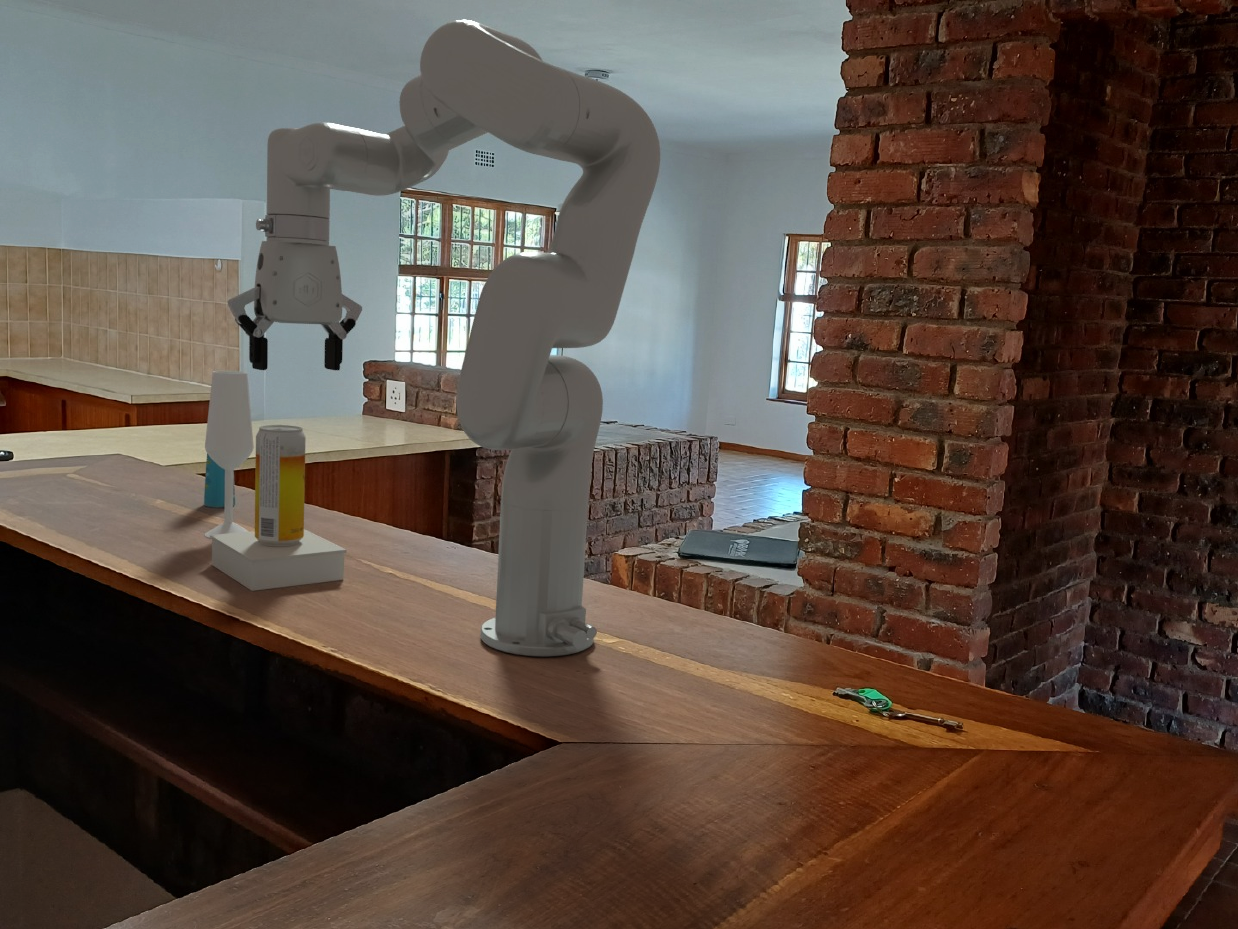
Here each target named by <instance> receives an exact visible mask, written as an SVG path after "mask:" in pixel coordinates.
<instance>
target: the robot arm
mask: <svg viewBox="0 0 1238 929" xmlns="http://www.w3.org/2000/svg"><path fill="white" fill-rule="evenodd" d="M419 70H420V75H418V76H416V77H414V78H412V79H410V80H409V81H408V82H407V83H405V85H404V86H403V88H402V89H401V92H400V94H399V101H398V102H399V112H400V113H399V114H400V117H401V120H402V123H403V126H400V127H398V128H396V129H395V130H392V131H389V132H387V133H378V132H373V131H371V130H370V131H369V130H365V129H361V128H358V127H357V128H356V127H352V126H346V125H341V124H337V123H332V122H325V121H324V122H314V123H311V124H307V125H305V126H302V127H300V128H295V127H281V128H276V129H274V130H272V131H271V132H270V133H269V135H268V138H267V145H266V147H267V149H266V150H267V152H266V155H267V156H266V159H267V160H266V161H267V162H266V173H267V174H266V177H267V178H266V180H267V181H266V215H265V216H264V217H265V218H262V219H260V218H259V219H256V221H255V228H256V231H262V232H264V237H265V238H266V240H262V241H261V245H260V248H259V253H258V258H257V261H256V262H257V264H256V270H255V277H254V278H255V279H254V287H253V288H250V289H249V290H246V291H244V292H242V293H240V294H238V295H235V296H234V297H232V298H230V299H228V301H227V306H228V308H229V310H230V311H231V314H232V315H233V317H234V321H235V322H236V324H237V325H238V326H239V327H240V328H241V329H242V330H243V331H244V332H245V335H246V336H248V337H249V338H248V339H249V342H248V343H249V344H248V345H249V347H248V350H249V351H248V352H249V353H248V354H249V356H248V357H249V358H248V359H249V362H250V363H251V364H252V365H251V367H252V369H253V370H258V371H267V369H268V358H269V356H268V354H269V352H268V350H269V349H268V347H269V346H268V345H269V343H268V342H269V341H268V338H267V337H265V333H266V332H268V330H269V328H270V327H271V326H272V325H273V324H274V323H280V324H297V325H298V324H299V325H300V324H301V325H304V324H305V325H321V327H322V328H323V329H324V331H325V332H326V334H327V335H328V337H326V338H324V363H323V364H324V366H323V367H324V368H325V369H326V370H330V371H340V370H341V364H342V363H343V347H344V346H343V344H344V341H343V340H345V339H346V338H347V336H348V334H349V333H350V332H351V331H352V329H354V328H355V327H356V325H357V321H358V319H359V318H360V316H361V313H362V311H363V306H362V305H361V304H359V303H357V302H356V301H355V300H353V299H351V298H349V297H348V296H346V295H345V294H343V292H342V288H343V287H342V278H341V276H342V275H341V270H340V262H339V256H338V251H337V247H336V246H335V245H330V217H331V214H330V211H331V210H330V208H331V204H330V203H331V190H333V191H342V192H352V193H357V194H364V195H369V196H376V197H379V196H382V197H384V196H389V195H393V194H397V193H400V192H403V191H405V190H408V189H410V188H412V187H414V186H416V185H419V184H420V183H423V182H426V181H428V180H429V179H430V178H432V177H433V176H434V175H436V174H437V172H438V171H440V169H441V168H442V165H443V164H444V163H445V161H446V159H447V158H448V155H449V152H450V151H451V150H453V149H455V148H457V147H460V146H461V145H463V144H466V143H468V142H470V141H472V140H474V139H477V138H479V137H481V136H483V135H486V134H487V133H489V134H490V135H492V136H493V137H496V138H497V139H498V140H500V141H502V142H504V143H506V144H507V145H509V146H512V147H513V148H515V149H518V150H521V151H523V152H525V153H528V154H532V155H536V156H541V157H545V158H550V159H554V160H558V161H563V162H567V163H573V164H575V165H578V166H579V167H580V168H581V169H582V174H581V176H580V177H579V179H578V180H577V182H576V183H575V184H574V185H573V187H572V188H571V189H570V191H569V192H568V194H567V196H565V199H564V201H563V202H562V205H561V208H560V210H559V213H558V216H557V220H556V224H555V229H554V233H553V236H552V239H551V242H550V244H549V247H548V249H547V251H546V252H542V251H541V252H540V251H525V252H524V251H523V252H518V253H516V254H513V255H510V256H509V257H506V258H505V259H504V260H502V261H501V262H499V263H498V264H497V265H496V266H495V268H494V269H493V270H492V272H491V273H490V274H489V276H487V279H486V280H485V282H484V285H483V286H482V290H481V292H480V295H479V298H478V301H477V306H476V308H475V312H474V317H473V321H472V323H471V324H472V325H471V329H470V332H469V337H468V342H467V345H466V348H465V352H464V358H463V362H462V365H461V368H460V369H461V370H460V374H459V376H458V377H459V378H458V383H457V388H456V400H455V401H456V402H455V403H456V405H455V406H456V408H455V409H456V413H457V414H456V415H457V418H458V422H459V424H460V427H461V429H462V431H463V432H464V434H465V435H466V436H467V437H468V439H470V441H471V442H473V443H474V444H475V445H477V446H479V447H481V448H483V449H489V450H493V451H504V450H505V451H507V450H510V452H509V455H508V457H507V460H506V463H505V468H504V472H503V477H502V482H501V484H502V486H501V496H500V497H501V498H500V500H501V501H500V512H499V513H500V514H499V536H498V537H499V538H498V555H497V557H498V558H497V559H498V560H497V576H496V577H497V579H496V580H497V581H496V597H495V598H496V601H495V617H493V618H490V619H488V620H487V621H485V622H484V623H482V625H481V626H480V635H479V637H480V639H481V641H483V643H484V644H486V645H487V646H489V647H490V648H493V649H495V650H498V651H501V652H503V653H509V654H513V655H519V656H524V657H525V656H526V657H559V656H560V657H561V656H568V655H572V654H576V653H577V654H578V653H580V652H582V651H585V650H587V649H588V648H590V647H591V646H592V645H593V644H594V641H595V639H594V638H595V637H596V636H597V633H598V630H597V628H596V627H595V626H593V625H591V624H589V623H586V616H587V613H586V612H587V607H585V606H583V593H584V577H585V564H586V563H585V562H586V561H585V560H586V545H587V529H588V528H587V526H588V515H589V514H588V513H589V512H588V511H589V510H588V509H589V500H590V499H589V498H590V487H591V486H590V484H591V473H592V472H591V471H592V466H593V465H592V463H593V457H594V452H595V451H594V450H595V447H596V443H597V438H598V434H599V432H600V427H601V423H602V422H601V421H602V418H603V417H602V416H603V410H604V409H603V408H604V406H603V404H604V403H603V402H604V398H603V392H602V388H601V385H600V382H599V380H598V378H597V376H596V374H594V372H593V371H592V369H590V367H589V366H587V365H586V364H585V363H583V362H581V361H579V360H578V359H576V358H573V357H569V356H566V355H558V354H557V355H556V354H551V353H552V350H553V349H578V348H579V349H580V348H587V347H592V346H595V345H597V344H599V343H600V342H602V341H603V340H605V338H607V336H608V334H609V333H610V331H611V330H612V328H613V325H614V323H615V320H616V317H617V314H618V311H619V307H620V303H621V301H622V298H623V293H624V289H625V286H626V284H627V279H628V275H629V274H630V273H629V272H630V269H631V266H632V262H633V258H634V255H635V250H636V247H637V243H638V238H639V234H640V231H641V229H642V224H643V223H644V219H645V216H646V213H647V212H648V211H647V210H648V207H649V205H650V202H651V201H652V200H651V199H652V197H653V194H654V191H655V188H656V185H657V181H658V176H659V173H660V167H661V147H660V140H659V135H658V133H657V130H656V126H655V125H654V123H653V121H652V119H651V118H650V116H649V115H648V113H647V112H646V110H644V108H643V107H642V106H641V105H640V104H639V103H638V102H637V101H636V100H634V99H633V98H632V97H631V96H630V95H628V94H627V93H625V92H623V91H621V89H618V88H616V87H614V86H612V85H609V84H608V83H605V82H602V81H599V80H597V79H594V78H590V77H588V76H585V75H583V74H582V75H581V74H579V73H576V72H573V71H570V70H567V69H564V68H562V67H558V66H556V65H553V64H551V63H548V62H546V61H544V60H543V59H542V57H541V56H540V54H539V53H538V52H537V50H536V49H535V48H534V47H532V46H531V45H530V44H529V43H527V42H526V41H524V40H522V39H521V38H519V37H517V36H514V35H511V34H508V33H505V32H504V31H501V30H498V29H495V28H493V27H490V26H487V25H485V24H482V23H480V22H476V21H473V20H469V19H468V20H467V19H461V20H460V19H458V20H453V21H449V22H447V23H445V24H443V25H441V26H440V27H438V28H437V29H436V30H435V31H434V32H432V33H431V35H430V36H429V37H428V39H427V40H426V41H425V43H424V46H423V48H422V52H421V54H420V60H419ZM251 303H253V309H254V310H253V311H254V316H255V318H254V319H251V318H250V316H249V315H248V314H247V312H246V308H245V307H246V306H247V305H248V304H251ZM343 309H345V310H346V314H345V316H344V318H343ZM342 318H343V319H342Z"/></svg>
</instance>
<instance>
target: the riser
mask: <svg viewBox="0 0 1238 929" xmlns="http://www.w3.org/2000/svg"><path fill="white" fill-rule="evenodd" d="M209 539H211V566H213V567H215V568H216V569H218V570H219V571H221V572H222V573H224V574H225V575H227V576H229V577H230V578H231V579H233V580H235V581H236V582H238V584H241V585H242V586H244V587H245V588H247V589H248V590H250V591H252V592H254V591H263V590H271V589H279V588H286V587H287V588H288V587H295V586H302V585H312V584H319V583H320V584H321V583H326V582H328V583H329V582H334V581H342V580H343V581H344V580H345V579H344V577H345V576H344V574H345V573H344V572H345V570H344V569H345V554H346V553H347V549H346V548H343V547H341V546H340V545H337V544H336V543H333V542H332V541H330V540H327V539H325V538H324V537H321V536H319V534H318V535H317V534H316V533H313V532H312V531H310V530H307V529H305V528H304V537H303V538H302V539H301V540H300V541H299V543H298V544H296V545H292V546H283V547H274V546H265V545H262V544H260V543H259V541H258V540H257V539H256V538H255V530H252V531H250V530H249V532H239V533H228V534H216V535H210V538H209Z"/></svg>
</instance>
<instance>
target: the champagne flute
mask: <svg viewBox="0 0 1238 929" xmlns="http://www.w3.org/2000/svg"><path fill="white" fill-rule="evenodd" d="M211 376H212V377H211V384H210V393H209V394H210V395H209V403H208V413H207V414H208V415H207V424H206V434H205V442H204V449H205V452H206V454H207V453H208V455H209V456H210V458H211V459H212V460H213V461H214V462H215V463H216V464H218V465H219V466H220V467H221V468H223V469H225V507H224V521H223V522H222V523H220V524H218V525H217V526H215V527H214V528H212V529H210V530H209V531H207V532H205V533H204V537H206V538H209V539H211V538H210V535H216V534H228V533H239V532H250V530H247V528H244V527H242V526H241V525H239V524H237V523H236V522H234V505H233V470H235V469H237V468H239V467H240V466H242V465H243V463H244V462H246V460H248V459H249V457H250V456H251V454H253V451H254V447H255V446H254V437H253V436H254V435H253V424H252V411H251V400H250V389H249V378H248V377H249V376H248V372H247V371H241V370H240V371H239V370H213V371H212V375H211Z"/></svg>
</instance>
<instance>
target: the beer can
mask: <svg viewBox="0 0 1238 929" xmlns="http://www.w3.org/2000/svg"><path fill="white" fill-rule="evenodd" d="M258 428H259V429H258V431H257V433H256V435H255V466H254V467H255V469H254V470H255V474H254V475H255V478H254V482H255V484H254V485H255V486H254V488H255V489H254V531H255V538H256V539H257V540H258V541H259V543H260V544H262V545H265V546H274V547H283V546H292V545H296V544H298V543H299V541H300V540H301V539H302V538H303V537H304V529H305V492H306V491H305V490H306V489H305V485H306V482H305V481H306V477H305V476H306V441H307V440H306V435H305V432H304V430H303V427H300V426H296V425H287V424H286V425H282V424H279V425H278V424H277V425H276V424H275V425H273V424H270V425H261V426H259V427H258Z"/></svg>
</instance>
